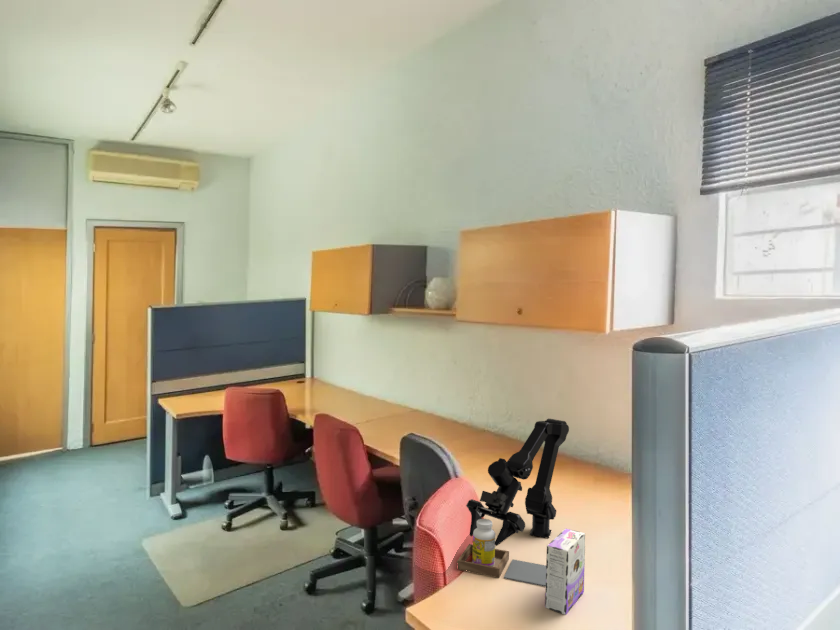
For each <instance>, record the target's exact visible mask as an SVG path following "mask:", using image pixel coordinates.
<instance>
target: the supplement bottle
mask: <svg viewBox="0 0 840 630" xmlns="http://www.w3.org/2000/svg"><path fill="white" fill-rule="evenodd" d="M495 541H496V532H495V530H494V529H493V521H492V520H490V519H488V518H482V519H479V520H477V528H476V529H475V530H474V531H473V536H472V545H473V554H472V558H471V559H472V560H471V562H472V563H477V564H482V565H487V566H492V567H495V563H496V562H495V561H496V558H495V549H496V545H495Z"/></svg>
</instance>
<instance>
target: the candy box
mask: <svg viewBox="0 0 840 630" xmlns="http://www.w3.org/2000/svg"><path fill="white" fill-rule="evenodd" d="M585 551H586V533H585V532H581V531H577V530H573V529H570V528H564V529H562V531H561V532H560V533H559V534H557V536H556V537H555V538H554V539H553V540H551V541H550V542H549V543H548V544H546V558H545V559H546V563H545V565H546V587H545V594H544V595H545V596H544V598H545V599H544V601H545V602H544V607H545V609H548V610H551V611H554V612H556V613H559V614H560V615H561V614H562V615H564V616H565V615H568V613H569V611H570V610H571V609H572V608H573V606H574V605H575V604H576V603H577V602H578V600H579V599H580V597H581V596H582V595H583V593H585V565H586V564H585V563H586V559H585V553H586V552H585Z"/></svg>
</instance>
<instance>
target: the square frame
mask: <svg viewBox="0 0 840 630" xmlns="http://www.w3.org/2000/svg"><path fill="white" fill-rule="evenodd" d="M471 554H473V543H469V544H468V545H467V546H466V548H465V549H464V550H463V552H462V553H461V555H460V556H459V558H458V559H457V561H456V564H457V563H458V569H459V570H458V571H463V572H467V571H470V572H469V573H472V572H473V574H477V573H478V574H479V575H482V576H483V575H484V576H488V577H492V578H493V577H494V578H498V579H500V577H501V575H503V572H504V571H505V568H506V566H507V564H508V562H509V560H510V551H508V550H506V549H505V550H504V549H498V548H495V559H498V560H500V562H499V564H498V566H493V567H492V566H487V565H482V564H477V563H473V562H472V561H467V559H468V558H469V556H471ZM466 570H467V571H466Z"/></svg>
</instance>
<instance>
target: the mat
mask: <svg viewBox="0 0 840 630" xmlns="http://www.w3.org/2000/svg"><path fill="white" fill-rule="evenodd" d="M503 579H506V580H510V581H515V582H520V583H525V584H530V585H533V586H540V587H544V588H546V564H545V565H544V564H541V563H540V564H539V563H535V562H529V561H524V560H520V559H519V560H518V559H512V560H511V562H510V563H509V566H508V567H507V570H506V572H505V573H504V575H503Z"/></svg>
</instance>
